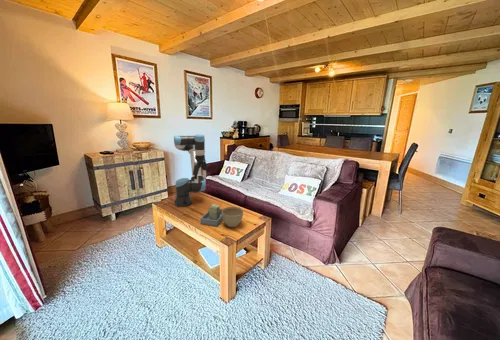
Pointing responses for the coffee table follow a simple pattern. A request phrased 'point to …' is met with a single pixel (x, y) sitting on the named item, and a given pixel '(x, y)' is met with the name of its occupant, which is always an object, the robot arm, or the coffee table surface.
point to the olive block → (214, 212)
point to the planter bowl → (232, 216)
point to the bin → (207, 221)
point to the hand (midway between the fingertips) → (200, 180)
